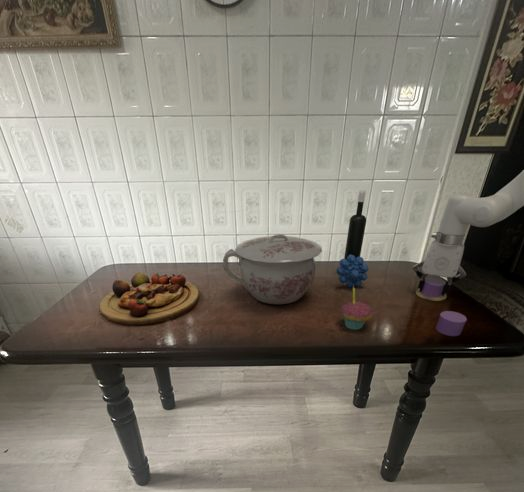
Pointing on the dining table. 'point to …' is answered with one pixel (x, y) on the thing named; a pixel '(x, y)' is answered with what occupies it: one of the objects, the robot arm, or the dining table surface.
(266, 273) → the chamber pot
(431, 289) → the purple cylinder
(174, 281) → the wooden plate
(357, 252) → the wine bottle
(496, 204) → the robot arm
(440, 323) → the short purple cylinder
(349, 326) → the cupcake
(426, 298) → the coaster
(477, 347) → the dining table surface
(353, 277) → the grapes
